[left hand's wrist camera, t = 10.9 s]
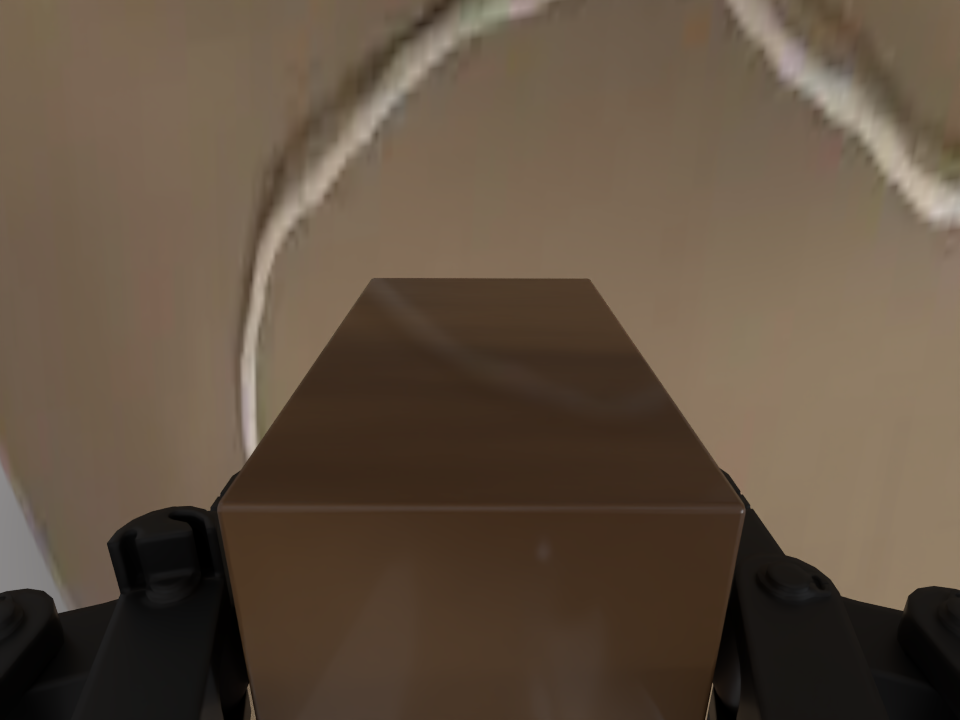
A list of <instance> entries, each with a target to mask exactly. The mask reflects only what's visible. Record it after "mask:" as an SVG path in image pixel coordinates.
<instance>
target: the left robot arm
mask: <svg viewBox="0 0 960 720" xmlns="http://www.w3.org/2000/svg"><path fill="white" fill-rule="evenodd" d="M720 470H721V471H722V473H723V474H724V475H725V477H726V478H727V480H728V481H729V483H730V484H731V486H732V487H733V489H734V490H735V491H736V493H737V494H738V496H739V497H740V499H741V500H742V502H743V503H744V506H745V518H744V523H743V528H742V533H741V539H740V544H739V549H738V554H737V559H736V564H735V569H734V574H733V579H732V585H731V590H730V595H729V600H728V605H727V610H726V615H725V620H724V625H723V630H722V636H721V641H720V646H719V651H718V656H717V661H716V666H715V671H714V676H713V690H712V695H711V700H710V705H709V710H708V716H707V720H960V590H957V589H952V588H945V587H937V586H931V587H924V588H918V589H916V590H915V591H914V592H913V593H912V594H910V595H909V596H908V599H907V602H906V605H905V608H904V611H900V610H896V609H891V608H887V607H882V606H878V605H873V604H869V603H864V602H860V601H856V600H852V599H849V598H845V597H842V596H841V595H840V593H839V591H838V590H837V588H836V587H835V586H834V584H833V583H832V581H831V580H830V579H829V578H828V577H827V576H825V575H824V574H823V573H822V572H820V571H819V570H818V569H817V568H815V567H813V566H811V565H809V564H807V563H805V562H803V561H801V560H799V559H797V558H794V557H790V556H786V555H785V554H784V553H783V551H782V550H781V548H780V547H779V546H778V544H777V543H776V541H775V540H774V538H773V537H772V536H771V534H770V533H769V531H768V530H767V528H766V527H765V526H764V524H763V523H762V521H761V520H760V518H759V517H758V516H757V514H756V513H755V511H754V510H753V509H750V504H749V503H748V501H747V500H746V499H745V497H744V496H743V495H741V494H740V490H739V489H738V487H737V486H736V484H735V483H734V481H733V480H732V479H731V477H730V476H729V474H727V473H726V472H724V471H723V470H722V469H720ZM240 471H241V470H240ZM240 471H239V472H240ZM239 472H238V473H236V474H235V475H233V476H232V477H231V479H230V480H229V482H228V483H227V485H226V486H225V487H224V489H223V490H222V492H221V493H220V494H221V495H220V497H217V499H216V500H215V502H214V503H213V505H212V506H211V510H210V511H207V510H205V509H201V508H197V507H193V506H179V507H169V508H165V509H161V510H156V511H152V512H150V513H147V514H145V515H143V516H141V517H138V518H136V519H134V520H132V521H130V522H129V523H127V524H126V525H125V526H123V527H122V528H120V529H119V530H117V531H116V533H115V534H114V535H113V536H112V538H111V539H110V540H109V541H108V543H107V546H108V549H109V553H110V557H111V560H112V564H113V567H114V571H115V575H116V578H117V582H118V586H119V589H120V593H121V594H120V597H119V599H117V600H113V601H110V602H107V603H103V604H98V605H94V606H89V607H85V608H80V609H76V610H71V611H67V612H63V613H57V610H56V607H55V603H54V600H53V598H52V597H50V596H49V595H48V594H47V593H46V592H44V591H41V590H34V589H20V590H13V591H6V592H3V593H0V720H250V717H251V707H250V701H249V695H248V690H247V687H248V684H249V678H248V673H247V668H246V662H245V657H244V652H243V646H242V641H241V636H240V630H239V625H238V620H237V614H236V609H235V604H234V598H233V593H232V588H231V582H230V577H229V572H228V566H227V561H226V556H225V550H224V545H223V540H222V534H221V529H220V524H219V518H218V513H217V507H218V504H219V501H220V500H221V499H222V497H223V496H224V494H225V493H226V491H227V490H228V488H229V487H230V485H231V484H232V482H233V481H234V480H235V478H236V477H237V475H238V474H239Z"/></svg>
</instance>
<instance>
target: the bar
mask: <svg viewBox="0 0 960 720" xmlns="http://www.w3.org/2000/svg"><path fill="white" fill-rule="evenodd" d="M217 513H218V518H219V524H220V529H221V534H222V540H223V545H224V550H225V556H226V561H227V566H228V572H229V577H230V582H231V588H232V593H233V598H234V604H235V609H236V614H237V620H238V625H239V630H240V636H241V641H242V646H243V652H244V657H245V662H246V668H247V673H248V678H249V684H250V689H251V694H252V700H253V705H254V710H255V716H256V720H705V717H706V712H707V707H708V702H709V697H710V692H711V687H712V682H713V676H714V671H715V666H716V661H717V656H718V651H719V646H720V641H721V636H722V630H723V625H724V620H725V615H726V610H727V605H728V600H729V595H730V590H731V585H732V579H733V574H734V569H735V564H736V559H737V554H738V549H739V544H740V539H741V533H742V528H743V523H744V518H745V506H744V503H743V502H742V500H741V499H740V497H739V496H738V494H737V493H736V491H735V490H734V489H733V487H732V486H731V484H730V483H729V481H728V480H727V478H726V477H725V475H724V474H723V473H722V471H721V470H720V468H719V467H718V465H717V464H716V462H715V461H714V459H713V458H712V457H711V455H710V454H709V452H708V451H707V449H706V448H705V446H704V445H703V443H702V442H701V441H700V439H699V438H698V436H697V435H696V433H695V432H694V430H693V429H692V427H691V426H690V425H689V423H688V422H687V420H686V419H685V417H684V416H683V414H682V413H681V411H680V410H679V409H678V407H677V406H676V404H675V403H674V401H673V400H672V398H671V397H670V395H669V394H668V393H667V391H666V390H665V388H664V387H663V385H662V384H661V382H660V381H659V379H658V378H657V377H656V375H655V374H654V372H653V371H652V369H651V368H650V366H649V365H648V363H647V362H646V361H645V359H644V358H643V356H642V355H641V353H640V352H639V350H638V349H637V347H636V346H635V345H634V343H633V342H632V340H631V339H630V337H629V336H628V334H627V333H626V331H625V330H624V329H623V327H622V326H621V324H620V323H619V321H618V320H617V318H616V317H615V315H614V314H613V312H612V311H611V310H610V308H609V307H608V305H607V304H606V302H605V301H604V299H603V298H602V296H601V295H600V294H599V292H598V291H597V289H596V288H595V286H594V285H593V283H592V282H591V280H589V279H486V278H374V279H371V281H370V282H369V284H368V285H367V287H366V288H365V290H364V291H363V292H362V294H361V295H360V297H359V298H358V300H357V301H356V303H355V304H354V306H353V307H352V309H351V310H350V311H349V313H348V314H347V316H346V317H345V319H344V320H343V322H342V323H341V325H340V326H339V328H338V329H337V330H336V332H335V333H334V335H333V336H332V338H331V339H330V341H329V342H328V344H327V345H326V347H325V348H324V349H323V351H322V352H321V354H320V355H319V357H318V358H317V360H316V361H315V363H314V364H313V366H312V367H311V368H310V370H309V371H308V373H307V374H306V376H305V377H304V379H303V380H302V382H301V383H300V385H299V386H298V387H297V389H296V390H295V392H294V393H293V395H292V396H291V398H290V399H289V401H288V402H287V404H286V405H285V406H284V408H283V409H282V411H281V412H280V414H279V415H278V417H277V418H276V420H275V421H274V423H273V424H272V425H271V427H270V428H269V430H268V431H267V433H266V434H265V436H264V437H263V439H262V440H261V442H260V443H259V444H258V446H257V447H256V449H255V450H254V452H253V453H252V455H251V456H250V458H249V459H248V461H247V462H246V463H245V465H244V466H243V468H242V469H241V471H240V472H239V474H238V475H237V477H236V478H235V480H234V481H233V482H232V484H231V485H230V487H229V488H228V490H227V491H226V493H225V494H224V496H223V497H222V499H221V500H220V501H219V504H218V507H217Z"/></svg>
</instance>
